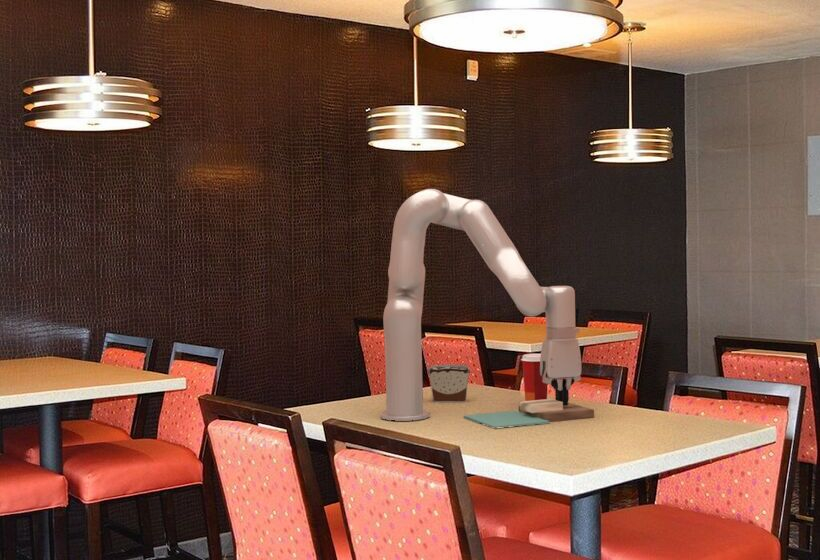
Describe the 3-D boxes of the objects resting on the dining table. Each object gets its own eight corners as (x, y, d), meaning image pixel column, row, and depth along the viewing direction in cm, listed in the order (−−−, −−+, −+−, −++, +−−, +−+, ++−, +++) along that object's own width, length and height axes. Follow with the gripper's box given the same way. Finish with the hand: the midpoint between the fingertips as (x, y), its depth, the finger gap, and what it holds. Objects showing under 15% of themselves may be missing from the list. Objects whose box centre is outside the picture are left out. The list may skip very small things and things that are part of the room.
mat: (463, 417, 267) (463, 415, 267) (515, 412, 272) (515, 410, 272) (495, 429, 250) (494, 426, 250) (549, 423, 256) (549, 421, 256)
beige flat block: (520, 409, 266) (520, 401, 266) (550, 406, 269) (550, 398, 269) (531, 412, 260) (531, 404, 260) (562, 409, 264) (562, 402, 264)
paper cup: (552, 404, 285) (551, 353, 285) (548, 408, 278) (547, 356, 277) (523, 403, 287) (522, 353, 287) (519, 408, 280) (518, 356, 279)
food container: (473, 398, 298) (472, 364, 298) (471, 402, 292) (470, 366, 292) (430, 398, 300) (429, 364, 300) (427, 402, 294) (427, 367, 294)
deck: (518, 414, 271) (518, 406, 270) (565, 409, 276) (565, 402, 276) (545, 422, 258) (545, 414, 257) (594, 417, 263) (594, 409, 263)
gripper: (578, 331, 273) (579, 400, 274) (527, 334, 267) (529, 405, 268) (593, 333, 266) (594, 404, 267) (542, 336, 260) (543, 409, 261)
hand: (562, 404), depth 267 cm, fingers closed
